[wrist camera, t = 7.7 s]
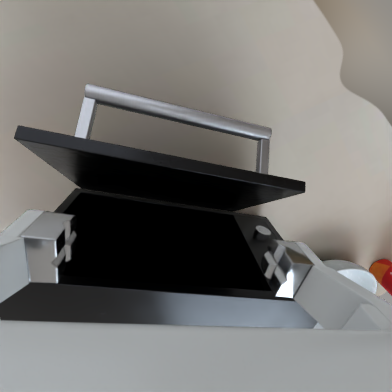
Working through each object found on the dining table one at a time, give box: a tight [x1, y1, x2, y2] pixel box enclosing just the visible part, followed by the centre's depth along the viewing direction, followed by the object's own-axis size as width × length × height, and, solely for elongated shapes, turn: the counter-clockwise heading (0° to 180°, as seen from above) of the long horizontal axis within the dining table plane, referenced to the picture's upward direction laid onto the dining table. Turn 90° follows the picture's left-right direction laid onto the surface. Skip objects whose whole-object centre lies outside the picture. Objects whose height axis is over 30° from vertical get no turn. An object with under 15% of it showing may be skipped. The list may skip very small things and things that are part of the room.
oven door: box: [14, 83, 305, 212], centre depth 30 cm, size 7×27×20 cm
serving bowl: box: [313, 260, 377, 329], centre depth 54 cm, size 21×21×7 cm
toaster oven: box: [0, 188, 318, 329], centre depth 38 cm, size 29×36×22 cm
